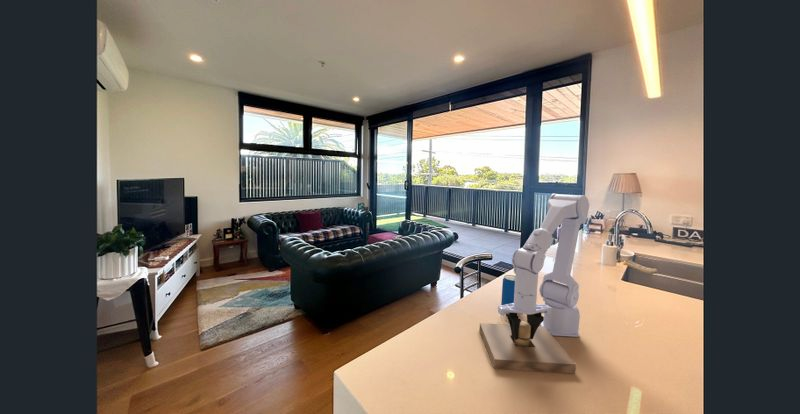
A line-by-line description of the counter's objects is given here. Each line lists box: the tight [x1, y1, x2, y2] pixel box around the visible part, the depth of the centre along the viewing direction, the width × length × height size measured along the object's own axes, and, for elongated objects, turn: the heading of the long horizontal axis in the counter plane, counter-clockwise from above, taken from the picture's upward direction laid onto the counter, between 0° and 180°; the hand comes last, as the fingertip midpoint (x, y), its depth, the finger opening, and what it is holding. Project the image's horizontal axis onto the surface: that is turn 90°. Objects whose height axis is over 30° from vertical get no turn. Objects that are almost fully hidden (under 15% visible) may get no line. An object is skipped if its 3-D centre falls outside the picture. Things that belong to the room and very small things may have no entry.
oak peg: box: [514, 320, 531, 347], centre depth 79 cm, size 4×4×6 cm
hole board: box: [478, 322, 577, 375], centre depth 80 cm, size 20×18×2 cm
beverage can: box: [500, 274, 516, 306], centre depth 105 cm, size 6×6×12 cm
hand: (522, 337), depth 79 cm, fingers closed on oak peg, 4 cm apart
